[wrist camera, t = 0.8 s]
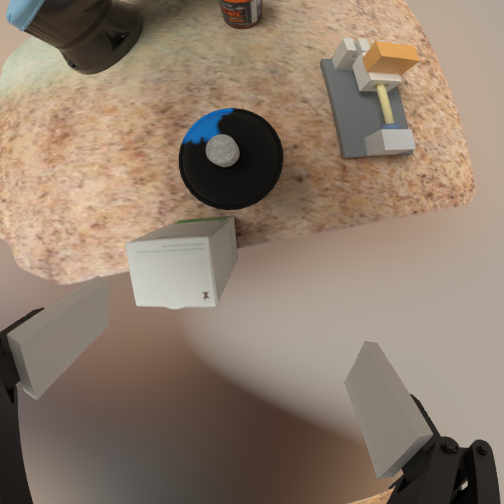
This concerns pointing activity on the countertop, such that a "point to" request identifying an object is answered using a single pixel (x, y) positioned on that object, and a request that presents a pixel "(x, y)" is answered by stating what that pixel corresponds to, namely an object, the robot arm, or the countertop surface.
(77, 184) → the countertop surface
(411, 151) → the cord board
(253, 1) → the supplement bottle
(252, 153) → the aerosol can
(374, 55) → the sleeve
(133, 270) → the skincare box
